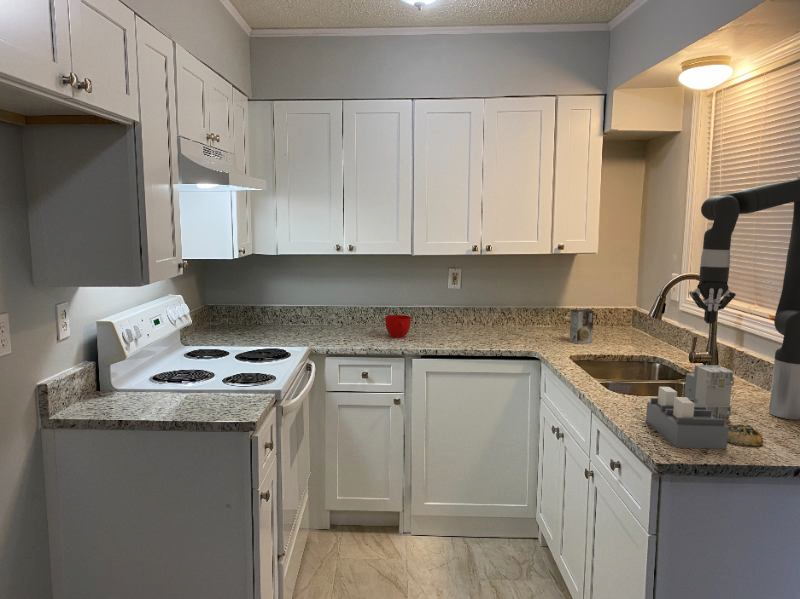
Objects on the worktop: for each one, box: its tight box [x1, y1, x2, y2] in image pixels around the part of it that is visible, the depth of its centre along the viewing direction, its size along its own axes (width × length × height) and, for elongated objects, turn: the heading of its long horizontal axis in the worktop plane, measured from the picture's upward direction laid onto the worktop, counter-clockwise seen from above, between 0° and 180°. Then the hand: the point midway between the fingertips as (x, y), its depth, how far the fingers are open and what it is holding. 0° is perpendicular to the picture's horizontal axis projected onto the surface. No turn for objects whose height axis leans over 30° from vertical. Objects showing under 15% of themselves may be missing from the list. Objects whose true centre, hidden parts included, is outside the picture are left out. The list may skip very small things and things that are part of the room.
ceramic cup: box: [384, 314, 412, 339], centre depth 284 cm, size 13×17×10 cm
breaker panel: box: [645, 397, 729, 450], centre depth 158 cm, size 13×20×8 cm, turn 178°
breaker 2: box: [673, 396, 695, 418], centre depth 152 cm, size 3×5×5 cm, turn 178°
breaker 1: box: [657, 386, 678, 406], centre depth 162 cm, size 3×5×5 cm, turn 178°
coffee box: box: [569, 308, 595, 345], centre depth 280 cm, size 9×6×16 cm
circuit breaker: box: [683, 364, 735, 422], centre depth 176 cm, size 8×14×15 cm, turn 2°
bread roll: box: [726, 423, 764, 447], centre depth 155 cm, size 11×11×5 cm
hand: (709, 323), depth 169 cm, fingers closed
